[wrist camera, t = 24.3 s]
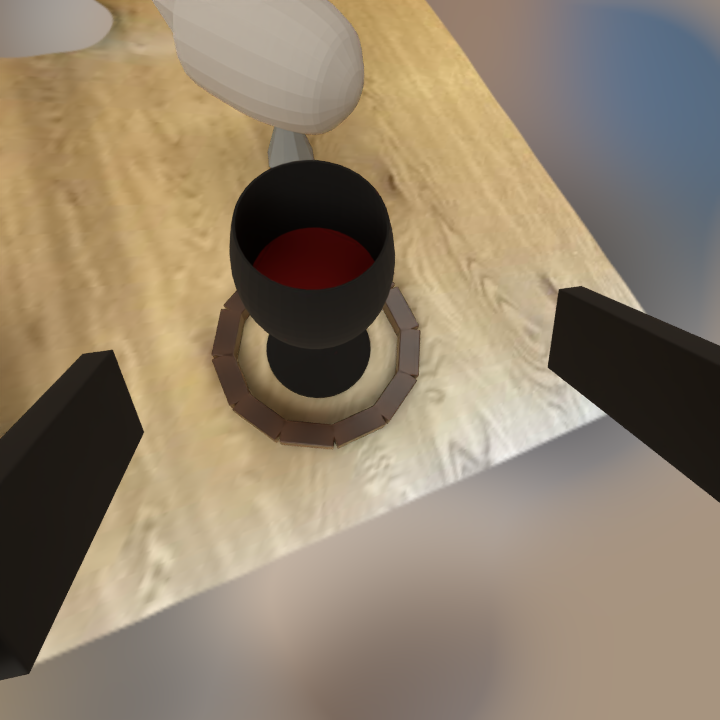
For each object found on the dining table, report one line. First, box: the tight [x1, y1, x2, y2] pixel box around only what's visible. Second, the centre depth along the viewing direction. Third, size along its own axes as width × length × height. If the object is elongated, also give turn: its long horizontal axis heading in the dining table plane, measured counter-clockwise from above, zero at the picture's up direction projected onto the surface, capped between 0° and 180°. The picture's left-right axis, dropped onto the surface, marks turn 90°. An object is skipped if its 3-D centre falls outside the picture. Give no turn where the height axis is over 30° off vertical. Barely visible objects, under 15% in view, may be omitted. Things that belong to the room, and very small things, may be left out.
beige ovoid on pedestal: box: [152, 0, 364, 168], centre depth 42 cm, size 15×20×18 cm
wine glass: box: [230, 160, 395, 398], centre depth 33 cm, size 10×10×20 cm
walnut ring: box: [212, 282, 420, 449], centre depth 41 cm, size 20×20×2 cm
